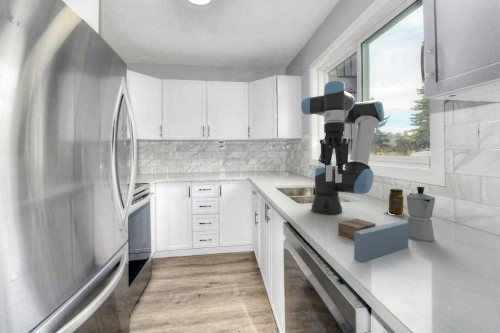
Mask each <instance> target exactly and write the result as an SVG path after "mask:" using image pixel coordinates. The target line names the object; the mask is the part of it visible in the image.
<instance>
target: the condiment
mask: <svg viewBox="0 0 500 333" xmlns="http://www.w3.org/2000/svg"><path fill="white" fill-rule="evenodd" d="M388 211H389V213H391V214H395V215H394V217H395V216H396V217H402V216H403V215H402V214H403V213H404V192H403V189H402V188H401V189H400V188H390V190H389V195H388ZM388 211H386V212H384V213H383V214H385V215H389V214H388ZM389 216H390V215H389Z"/></svg>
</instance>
